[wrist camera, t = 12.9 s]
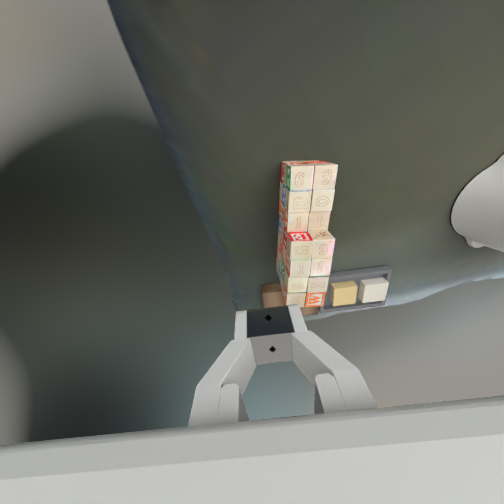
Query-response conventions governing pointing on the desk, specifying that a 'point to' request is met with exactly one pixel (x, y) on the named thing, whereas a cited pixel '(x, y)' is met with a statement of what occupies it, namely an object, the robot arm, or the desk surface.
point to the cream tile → (373, 290)
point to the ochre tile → (343, 293)
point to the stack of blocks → (305, 231)
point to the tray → (357, 276)
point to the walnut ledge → (280, 299)
